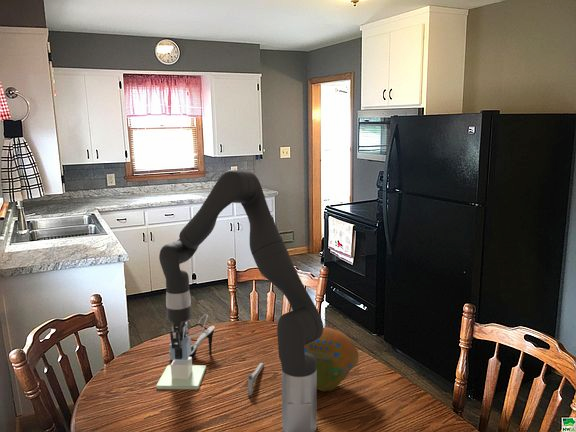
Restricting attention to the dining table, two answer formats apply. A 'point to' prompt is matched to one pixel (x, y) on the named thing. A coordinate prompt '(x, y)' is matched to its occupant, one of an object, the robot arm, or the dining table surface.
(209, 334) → the sandal
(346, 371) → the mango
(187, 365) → the white cube
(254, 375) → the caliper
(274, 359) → the dining table surface
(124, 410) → the dining table surface
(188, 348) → the brick top
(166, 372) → the base plate
